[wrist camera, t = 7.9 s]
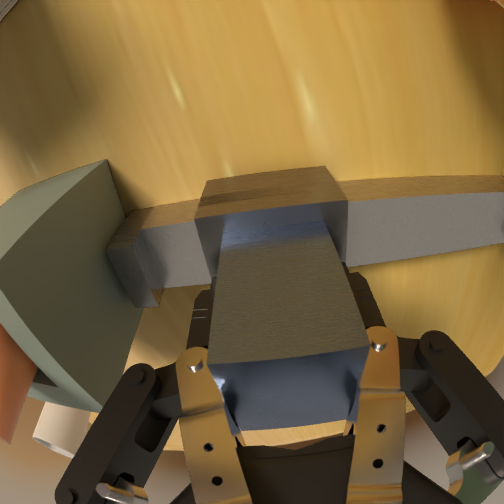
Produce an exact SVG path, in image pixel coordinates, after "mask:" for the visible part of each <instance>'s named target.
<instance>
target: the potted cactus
mask: <svg viewBox="0 0 504 504" xmlns="http://www.w3.org/2000/svg"><path fill="white" fill-rule="evenodd" d="M489 1H495V2H497V3H498V4H499V5H500V6H502V7H503V8H504V0H489Z"/></svg>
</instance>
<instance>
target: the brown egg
mask: <svg viewBox="0 0 504 504" xmlns="http://www.w3.org/2000/svg"><path fill="white" fill-rule="evenodd" d="M38 368H39V367H38V366H37V365H36V364H35V363H34V362H33V361H32V360H31V359H30V358H29V357H28V356H27V354H26V353H25V352H24V351H23V350H22V349H21V348H20V346H19V345H18V344H17V343H16V342H15V341H14V339H13V338H12V337H11V336H10V335H9V333H8V332H7V331H6V330H5V328H4V327H3V326H2V324H1V323H0V439H1V440H3V441H4V442H6V443H8V444H11V441H12V438H13V434H14V431H15V428H16V425H17V421H18V419H19V416H20V413H21V410H22V408H23V405H24V402H25V399H26V397H27V394H28V392H29V389H30V387H31V384H32V382H33V379H34V377H35V375H36V372H37V370H38Z"/></svg>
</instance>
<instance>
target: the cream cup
mask: <svg viewBox="0 0 504 504" xmlns="http://www.w3.org/2000/svg"><path fill="white" fill-rule="evenodd" d="M90 412H91V411H86V410H81V409H76V408H71V407H66V406H62V405H58V404H54V403H50V402H46V403H45V405H44V408H43V410H42V413H41V415H40V418H39V421H38V423H37V426H36V429H35V431H34V434H33V438H34V439H35V440H36V441H37V442H39V443H40V444H42V445H44V446H46V447H47V448H49V449H51V450H53V451H55V452H57V453H60V454H62V455H65V456H67V457H70V458H73V457H74V455H75V454H76V452H77V450H78V448H79V447H80V445H81V443H82V441H83V440H84V438H85V436H86V431H87V426H88V421H89V417H90Z"/></svg>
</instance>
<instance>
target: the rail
mask: <svg viewBox="0 0 504 504" xmlns="http://www.w3.org/2000/svg"><path fill="white" fill-rule="evenodd" d="M337 184H338V185H339V187H340V188H341V190H342V191H343V193H344V194H345V196H346V197H347V199H348V228H347V250H346V265H347V267H353V266H361V265H368V264H375V263H382V262H389V261H395V260H402V259H409V258H415V257H422V256H428V255H434V254H441V253H447V252H453V251H459V250H465V249H471V248H476V247H482V246H488V245H493V244H499V243H504V176H430V177H405V178H386V179H370V180H357V181H344V182H337ZM199 202H200V199H197V200H191V201H185V202H179V203H173V204H168V205H162V206H157V207H151V208H146V209H141V210H136V211H131V213H130V214H129V216H128V217H127V219H126V220H125V221H124V223H123V224H122V226H121V227H120V229H119V230H118V232H117V233H116V235H115V236H114V238H113V239H112V241H111V243H110V244H109V246H108V247H107V249H106V252H107V254H108V256H109V258H110V260H111V262H112V265H113V267H114V269H115V271H116V273H117V275H118V277H119V279H120V281H121V283H122V285H123V287H124V289H125V290H126V292H127V294H128V296H129V298H130V300H131V302H132V304H133V305H134V307H135V308H146V307H159V304H160V301H161V297H162V294H163V291H164V288H172V287H182V286H192V285H202V284H211V281H212V280H211V277H210V274H209V270H208V267H207V263H206V260H205V257H204V253H203V250H202V246H201V243H200V239H199V236H198V232H197V228H196V225H195V221H194V217H195V214H196V211H197V208H198V205H199Z"/></svg>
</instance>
